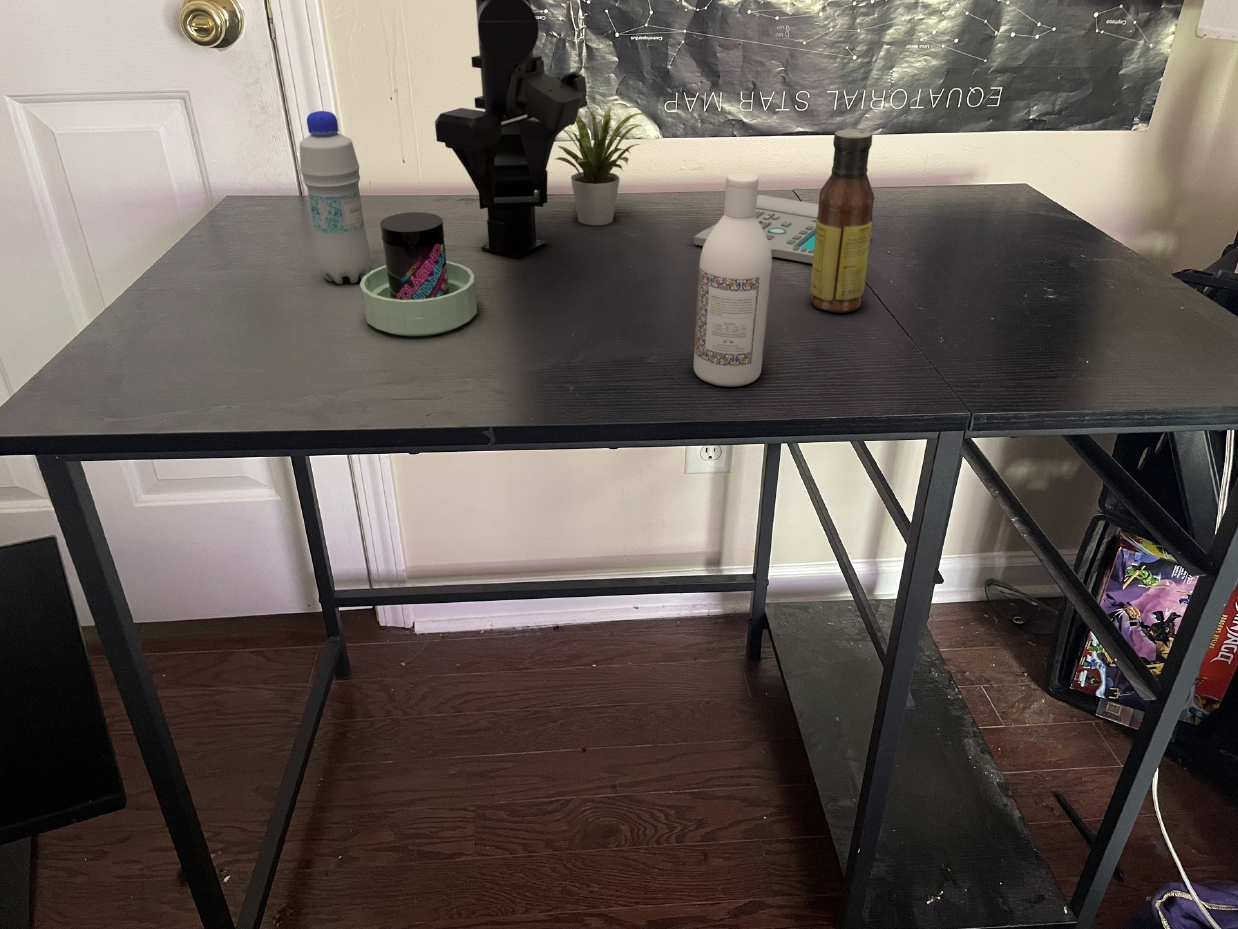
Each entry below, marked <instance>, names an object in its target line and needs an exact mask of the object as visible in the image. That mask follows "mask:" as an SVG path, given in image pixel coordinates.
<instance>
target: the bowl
mask: <svg viewBox="0 0 1238 929" xmlns="http://www.w3.org/2000/svg"><path fill="white" fill-rule="evenodd" d="M446 263H447V273H448V283H449V293H450V294H447V295H443V296H440V297H435V298H428V299H421V300H399V299H391V297H390V290H389V282H388V275H387V268H386V264H385V265H382V266H380V267H377V268H375V269H372V270H370V272H369V273H368V274H367V275H365V276H364V277H363V278H362V279H360V280H361V281H360V283H359V288H360V289H359V290H360V295H361V301H362V302H361V303H362V308H363V315H364V318H365V320H366V322H367V324H369V325H370V326H371V327H373V328H374V329H376V330H379V331H383V332H385V333H388V334H392V335H396V336H404V337H426V336H434V335H440V334H443V333H446V332H447V333H448V332H450V331H453V330H455V329H457V328H459V327H460V326H462V325H465V324H466V323H468V322H470V321H471V320H472V319H473V318H474V317H475V316H476V314H477V311H478V300H477V288H476V276H475V274H474V272H473V271H472V270H471V268H468V267H467V266H465V265H463V264H461V263H456V262H453V261H450V260H446Z"/></svg>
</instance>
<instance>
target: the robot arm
mask: <svg viewBox="0 0 1238 929" xmlns="http://www.w3.org/2000/svg"><path fill="white" fill-rule="evenodd" d="M475 8H476V9H475V10H476V26H477V37H478V49H479V50H478V51H479V55H474V56H471V68H476V69H480V81H481V94H482V95H480V96H477V97H474V109H472V108H465V107H459V108H455V109H452V110H448V111H444V112H440V114H439V115H438V116H437V118H436V119H435V121H434V128H435V137H436V138H435V139H436V142H438V143H444V146H445V148H447V149H451V150H452V151H453V153H454V154H455V155H456V157H457V158H458V160H459V161H460V163H461V165H462V166H463V168H464V170H465V171H466V173H467V174H468V176H469V178H470V180H471V182H472V183H473V185H474V187H475V189H476V190H477V193H478V201H479V210H484V209H487V210H486V211H487V219H486V225H487V226H486V227H487V237H488V238H487V239H488V240H487V241H488V242H487V243H484V244H481V246H480V248H481V250H482V251H485V252H490V253H494V254H498V255H502V256H506V257H509V258H510V257H511V258H514V259H520V258H522V257H525V256H526V255H529V254H531V253H532V252H534V251H537V250H539V249H541V248H542V247H545V246H546V241H545V240H541V239H537V229H536V228H537V226H536V208H535V207H539V208H542V207H544V204H545V205H546V204H548V170H547V167H548V163H549V161H550V156H551V153H552V149H553V147H554V143H555V141H556V138H557V137H558V136H559V135H560V133H561V132H563V131H564V130H565V129H566V128H567V127H570V126H574V125H576V118H577V116H578V115H579V111H580V109H582V108H587V107H586V106H588V100H587V95H588V92H587V82H586V76H585V75H583V74H581V73H579V72H578V71H572V72H568V73H567V72H566V73H565V75H564V76H562V78H561V77H560V76H558V75H556V76H551V75H549V74H547V73H546V72H545V61H544V59H543V56H542V55H537V54H534V49H535V47H536V45H537V42H538V39H539V29H540V28H539V23H538V19H537V16H536V13H535V12H534V10H533V8H532V0H475ZM479 109H481V110H479ZM563 129H564V130H563Z"/></svg>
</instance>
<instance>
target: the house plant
mask: <svg viewBox="0 0 1238 929" xmlns="http://www.w3.org/2000/svg"><path fill="white" fill-rule="evenodd" d="M585 108H587V110H588V112H589V115H590V117H591V123H592V130H593V144H592V141H591V140H592V139H591V136H590V132H589V127H590V125H587V124H586V123H585V121H584V120H583V118H581V117H580V114H578V116H577V118H576V122H575V125H576V127H577V130H578V135H579V137H578V136H577V134H576V133H575V132H574V131H573V130H571V132H572V134H573V136H574V138H575V139H573V136H571V134H570V133H569V132H568V131H567V130H566V129H565V128H564V129H563V130H562V131H563V132H565V134H566V135H567V136H568V137H569V138H570V139H571V141H572V142H573V143H574V145H575V146H576V148H577V150H578V151H579V153H580V155H581V156H579V155H578V154H577V153H575V152H574V151H572V150H570V149H569V148H567V147H565V146H561V145H557V147H558V148H559V149H561V150H562V151H563V152H564V153H565V154H566V155H567V156H569V157H570V158H571V159H573V161H574V162H575V163H576V164H575V163H573V161H571V160H570V159H568V158H566V157H563V156H559V157H556V158H554V159H553V161H554V160H558V161H561V162H564V163H567V164H569V165H570V166H572V167H573V168H574V169H575V170H576V171H577V172H576V173H574V174H572V175H571V177H570V180H571V185H572V191H573V192H572V193H573V197H574V204H575V208H576V214H577V220H578V222H579V223H580V224H583V225H589V226H603V225H604V226H605V225H608V224H611V223H612V222H613V221H614V216H615V210H616V203H617V196H618V191H619V185H620V176H619V175H618V174H616V173H614V172H611V171H612V170H613V169H614V168H618V169H621V170H622V171H624V169H623V166H622V165H621V164H619V163H618V162H619V160H620V161H623V162H624V163H625V164H628V162H629V157H627V156H624V155H625V154H626V153H628V154H631V152H630V149H632V148H633V147H635V146H639V145H641V143H636V144H631V145H629V146H627V147H626V148H624V149H623V148H621V147H619V146H620V144H621V142H623V140H624V138H625V137H626V136H627V135H628V134H629V133H631V131H633V130H634V129H636V128H640V127H643V126H644V125H642V124H641V125H639V123H638V124H636V123H632V124H631V123H630V124H629V125H626V124H627V123H628V122H629V121H630V120H632V118H634V117H635V116H639V115H642V114H645V113H647V112H637V113H632V114H630V115H628V116H626V117H624V119H622V120H621V121H619V123H618V124H617V125H616V126H615V128H614V130H613V131H612V134H611V135H610V138H609V140H608V141H607V139H608V135H609V134H610V128H612V126H613V124H612V125H611V121H612V116H611V111H612V110H611V108H608V109H607V110H606V111H605V113H604V115H603V119H602V120H603V121H602V123H601V128H600V130H599V124H598V121H597V117H596V116H595V114H594V112H593V110H592V109H591V108H590V107H589V105H587V106H586V107H585ZM625 125H626V126H625ZM623 127H624V128H623ZM628 127H630V128H628ZM625 128H628V129H627V130H626V131H625V132H624V133H623V134H622V135H621V136H620V134H621V132H622V131H623V130H624V129H625ZM619 136H620V138H619V139H618V140H617V138H618V137H619ZM575 140H576V141H577V143H576V142H575ZM616 140H617V143H616V145H615V146H614V148H613V149H611V148H612V147H613V144H614V143H615V142H616ZM620 151H621V152H620ZM618 152H620V153H619V154H618V155H617V156H616V158H614V159H612V158H613V157H614V156H615V155H616V153H618ZM576 165H578V166H579V167H580V169H581V170H582V171H580V169H579V168H578V166H576Z"/></svg>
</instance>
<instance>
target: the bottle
mask: <svg viewBox="0 0 1238 929" xmlns="http://www.w3.org/2000/svg"><path fill="white" fill-rule="evenodd" d="M306 126H307V130H308V133H309V135H308V136H306V137H305V138H303V139H301V141H299V157H300V158H299V162H300V165H299V166H300V167H299V168H300V170H299V171H300V173H301V175H302V182H303V183H304V184H303V185H305V187H306V189H307V194H308V199H309V205H310V212H311V216H312V217H311V218H312V222H313V228H314V233H315V241H316V242H315V243H316V253H317V259H318V265H319V268H320V271H321V273H322V275H323V277H324V279H326V280H327V281H328V282H335V283H336V284H337V285H343V283H344V277H348V278H349V282H350V283H351V284H356V283H357V282H358V280H359V278H360V280H362V278H363V277H364V276H365V275H367V274H368V273H369V272H370V271H371V264H372V256H371V251H370V245H369V242H368V236H367V232H366V228H365V222H364V221H365V220H364V212H363V207H362V206H363V205H362V199H361V192H360V187H359V182H360V180H361V175H360V164H359V161H358V157H357V155H356V151H355V147H354V144H353V140H352V139H351V138H350V137H348V136H346V135H344V134H342V133H339V131H340V130H339V123H338V119H337V116H336V115H335V113H333V112H332V111H327V110H317V111H313V112H311V113H309V114H308V115H307V117H306Z"/></svg>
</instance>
